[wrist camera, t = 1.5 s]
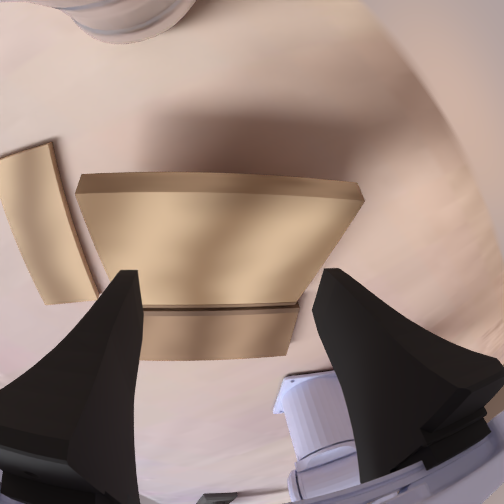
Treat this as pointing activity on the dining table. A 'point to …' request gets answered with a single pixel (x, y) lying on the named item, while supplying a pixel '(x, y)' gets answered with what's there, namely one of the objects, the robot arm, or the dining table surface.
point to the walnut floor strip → (217, 332)
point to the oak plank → (216, 233)
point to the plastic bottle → (120, 17)
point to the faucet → (217, 498)
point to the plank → (44, 226)
